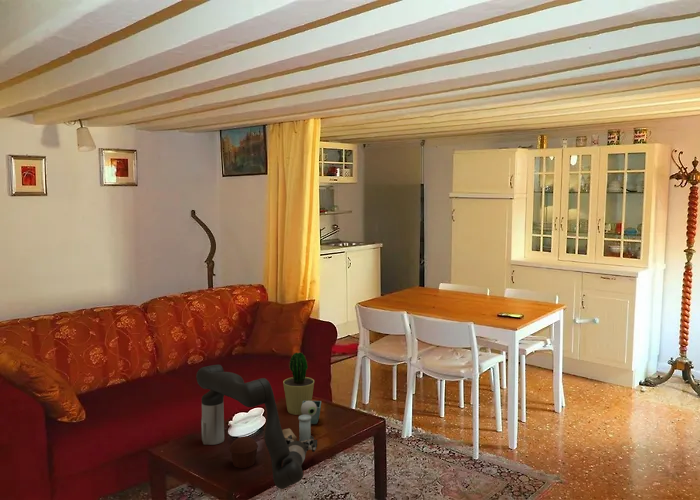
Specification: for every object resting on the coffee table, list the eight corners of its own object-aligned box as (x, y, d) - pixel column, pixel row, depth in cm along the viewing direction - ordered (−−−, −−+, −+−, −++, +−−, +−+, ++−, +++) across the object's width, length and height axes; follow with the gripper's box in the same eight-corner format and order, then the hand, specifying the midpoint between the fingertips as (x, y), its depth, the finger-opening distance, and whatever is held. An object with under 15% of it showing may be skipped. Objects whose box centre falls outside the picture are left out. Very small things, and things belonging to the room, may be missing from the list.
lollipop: (304, 438, 257) (304, 404, 255) (298, 432, 263) (298, 399, 262) (319, 434, 260) (319, 402, 259) (313, 429, 266) (312, 397, 265)
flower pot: (320, 426, 270) (320, 407, 269) (301, 426, 270) (301, 407, 269) (321, 419, 279) (321, 400, 278) (303, 418, 279) (302, 400, 278)
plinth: (273, 450, 244) (273, 440, 244) (268, 440, 254) (267, 431, 253) (296, 446, 248) (296, 436, 248) (290, 437, 257) (290, 428, 257)
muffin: (244, 454, 241) (243, 430, 240) (264, 460, 235) (263, 436, 234) (222, 465, 231) (222, 440, 230) (243, 472, 225) (242, 447, 224)
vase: (300, 447, 247) (300, 420, 246) (297, 442, 252) (296, 415, 251) (313, 445, 249) (312, 418, 248) (309, 440, 254) (308, 413, 253)
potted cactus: (319, 407, 294) (319, 348, 292) (306, 418, 280) (306, 356, 277) (292, 403, 300) (291, 346, 297) (277, 413, 285) (277, 353, 283)
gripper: (313, 445, 222) (318, 429, 238) (276, 444, 223) (283, 428, 239) (313, 464, 223) (318, 446, 239) (276, 463, 224) (284, 445, 240)
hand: (301, 437), depth 239 cm, fingers open, 8 cm apart
